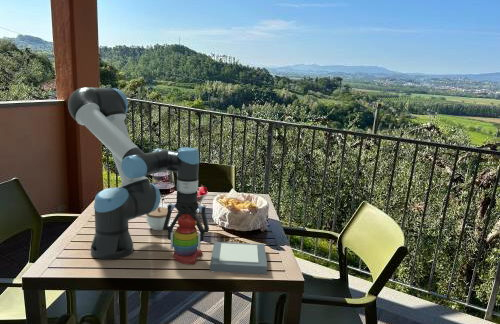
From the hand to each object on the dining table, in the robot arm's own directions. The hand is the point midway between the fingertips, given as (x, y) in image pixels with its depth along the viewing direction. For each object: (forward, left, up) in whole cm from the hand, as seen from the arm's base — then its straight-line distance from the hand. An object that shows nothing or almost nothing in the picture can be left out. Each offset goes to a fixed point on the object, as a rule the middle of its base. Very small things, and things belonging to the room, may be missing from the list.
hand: (185, 248), depth 138 cm
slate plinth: (+20, -1, -4) cm, 20 cm away
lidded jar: (-16, +26, -4) cm, 31 cm away
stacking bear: (0, 0, -4) cm, 4 cm away
